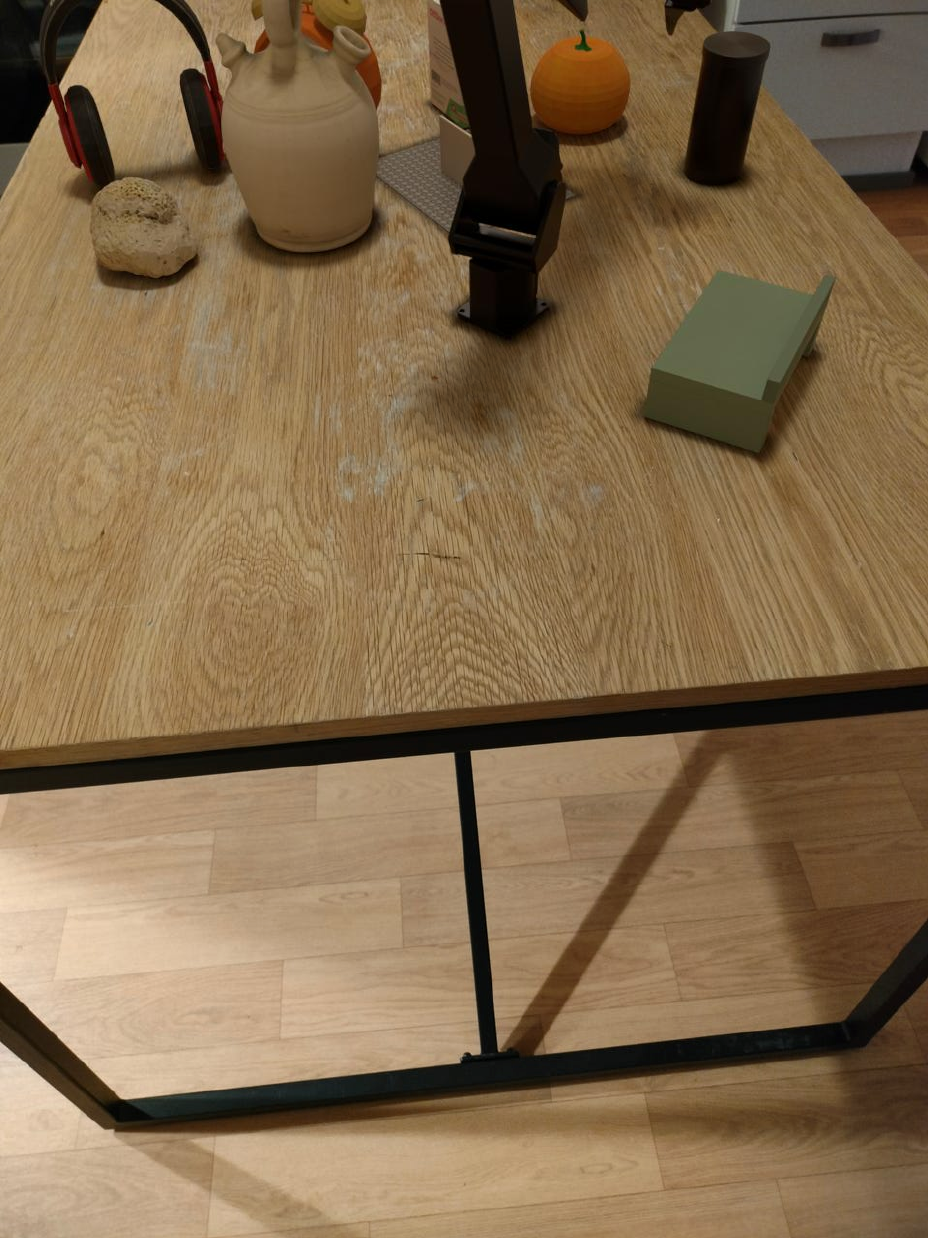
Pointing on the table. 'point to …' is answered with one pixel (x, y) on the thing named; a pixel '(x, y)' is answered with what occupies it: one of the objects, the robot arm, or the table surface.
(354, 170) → the jug
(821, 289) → the olive lipped block
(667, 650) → the table surface
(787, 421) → the table surface
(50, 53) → the headphones
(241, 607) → the table surface
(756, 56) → the canister
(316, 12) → the alarm clock
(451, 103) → the ink box
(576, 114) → the fruit
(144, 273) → the decorative item
